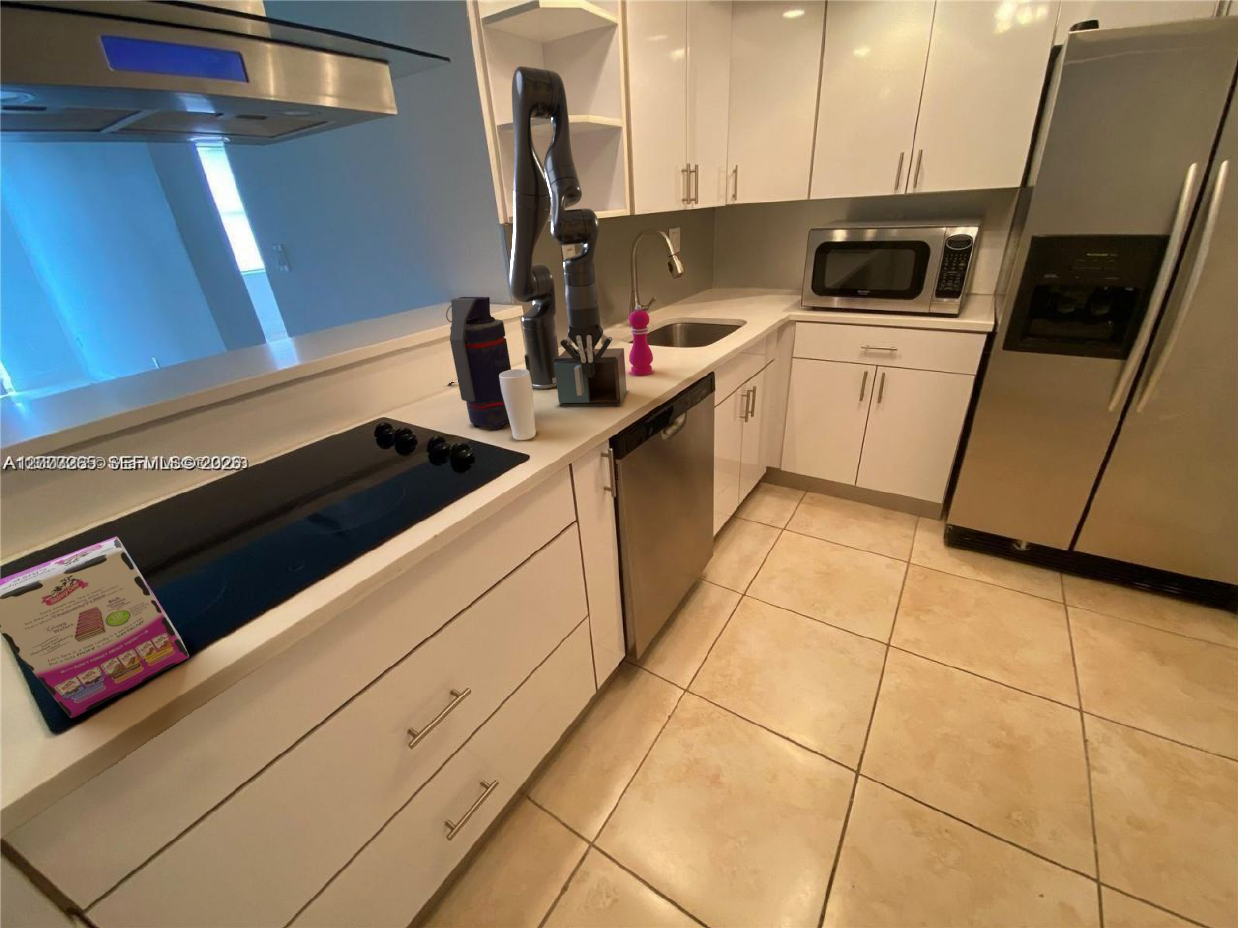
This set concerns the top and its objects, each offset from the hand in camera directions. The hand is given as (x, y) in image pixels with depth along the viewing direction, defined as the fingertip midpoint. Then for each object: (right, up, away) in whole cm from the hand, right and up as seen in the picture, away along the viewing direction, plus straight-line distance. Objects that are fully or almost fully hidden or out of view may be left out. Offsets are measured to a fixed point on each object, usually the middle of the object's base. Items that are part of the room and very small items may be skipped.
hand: (589, 376), depth 129 cm
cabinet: (+1, -4, +12) cm, 12 cm away
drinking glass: (-14, -15, -9) cm, 23 cm away
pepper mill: (+14, +6, +29) cm, 33 cm away
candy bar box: (-51, -47, -67) cm, 96 cm away
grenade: (-24, -12, 0) cm, 27 cm away
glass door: (-5, -6, +5) cm, 9 cm away
